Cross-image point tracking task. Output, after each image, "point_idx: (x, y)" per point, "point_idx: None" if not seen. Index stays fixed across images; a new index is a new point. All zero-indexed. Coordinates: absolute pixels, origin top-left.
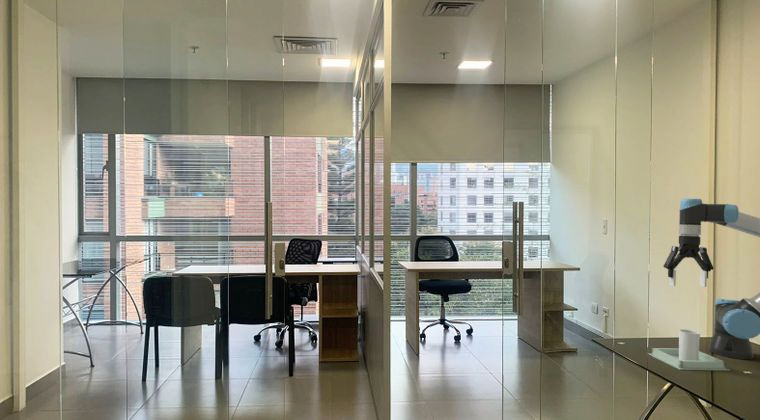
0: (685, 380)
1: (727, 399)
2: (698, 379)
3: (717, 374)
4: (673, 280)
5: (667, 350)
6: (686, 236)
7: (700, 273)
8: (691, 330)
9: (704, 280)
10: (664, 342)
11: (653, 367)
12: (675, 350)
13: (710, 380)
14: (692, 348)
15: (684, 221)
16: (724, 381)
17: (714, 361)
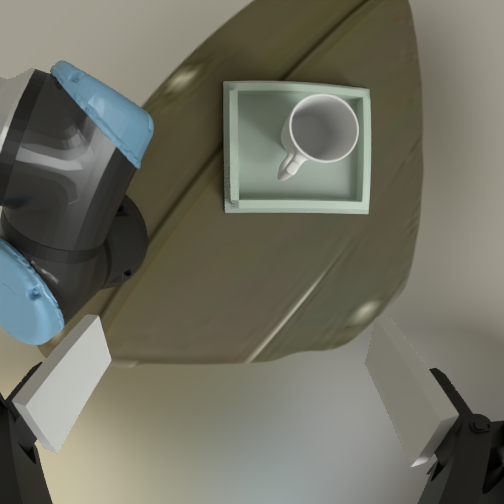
0: (398, 36)
1: None
2: (365, 34)
3: (288, 55)
4: (408, 347)
5: (325, 200)
6: None
7: (67, 429)
8: (299, 147)
9: (75, 350)
10: (227, 326)
11: (420, 113)
12: (299, 199)
13: (340, 25)
14: (321, 107)
15: None
16: (309, 18)
17: (263, 85)
